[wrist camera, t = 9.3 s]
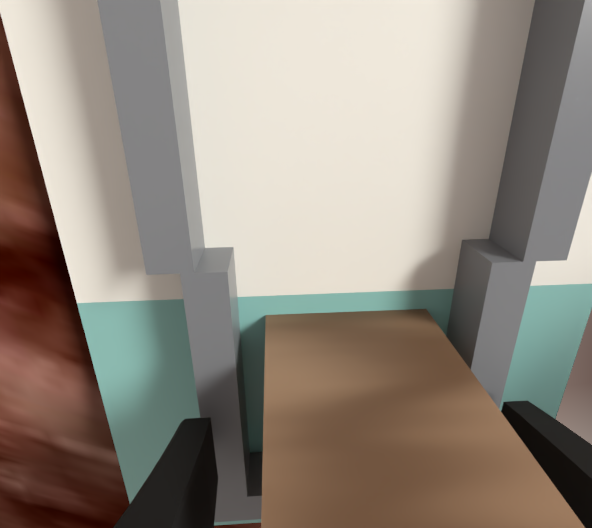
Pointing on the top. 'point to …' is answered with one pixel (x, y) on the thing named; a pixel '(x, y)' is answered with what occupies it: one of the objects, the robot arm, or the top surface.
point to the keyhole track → (308, 192)
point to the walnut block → (389, 431)
